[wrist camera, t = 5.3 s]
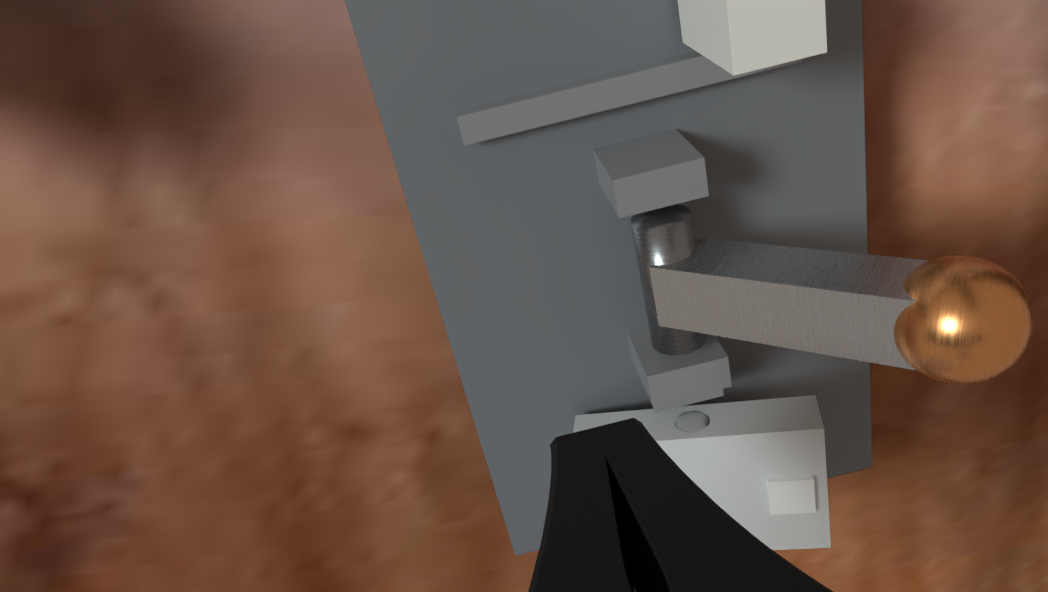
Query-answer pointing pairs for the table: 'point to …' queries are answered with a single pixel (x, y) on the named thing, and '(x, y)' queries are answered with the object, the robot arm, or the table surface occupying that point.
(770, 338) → the lever
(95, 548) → the table surface
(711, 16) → the off-white rectangular block
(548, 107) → the panel
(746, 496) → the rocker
